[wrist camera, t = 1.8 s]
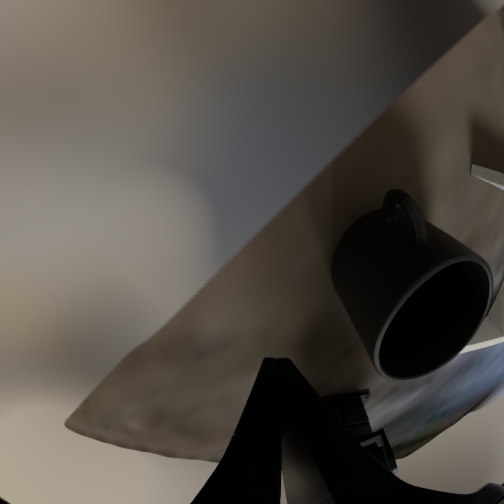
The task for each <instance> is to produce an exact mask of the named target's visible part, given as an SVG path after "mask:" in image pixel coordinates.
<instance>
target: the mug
mask: <svg viewBox="0 0 504 504" xmlns="http://www.w3.org/2000/svg"><path fill="white" fill-rule="evenodd" d="M396 203H398V204H399V205H400V206H401V207H402V208H398V207H395V206H396ZM332 279H333V284H334V287H335V290H336V292H337V294H338V296H339V298H340V299H341V301H342V303H343V305H344V307H345V309H346V311H347V313H348V315H349V317H350V319H351V321H352V323H353V325H354V327H355V329H356V331H357V333H358V335H359V337H360V339H361V341H362V343H363V345H364V347H365V349H366V351H367V353H368V355H369V357H370V359H371V361H372V364H373V366H374V368H375V369H376V371H377V372H378V373H379V374H380V375H381V376H382V377H383V378H385V379H387V380H390V381H394V382H406V381H412V380H416V379H419V378H422V377H424V376H427V375H429V374H431V373H433V372H435V371H436V370H438V369H440V368H441V367H443V366H444V365H446V364H447V363H448V362H450V361H451V360H452V359H453V358H454V357H456V356H457V355H458V354H459V353H460V352H461V351H462V350H463V349H464V348H465V347H466V345H467V344H468V343H469V342H470V341H471V339H472V338H473V337H474V335H475V334H476V332H477V331H478V329H479V328H480V326H481V324H482V322H483V321H484V318H485V316H486V314H487V312H488V309H489V306H490V303H491V299H492V294H493V276H492V272H491V269H490V267H489V265H488V263H487V262H486V261H485V260H484V259H483V258H482V257H481V256H479V255H478V254H477V253H475V252H474V251H472V250H471V249H470V248H468V247H467V246H465V245H464V244H462V243H461V242H459V241H458V240H456V239H455V238H453V237H452V236H450V235H448V234H447V233H445V232H444V231H442V230H441V229H439V228H437V227H436V226H434V225H433V224H431V223H429V222H428V221H426V220H424V219H423V217H422V215H421V212H420V210H419V208H418V207H417V205H416V203H415V202H414V201H413V199H412V198H411V197H410V196H409V195H408V194H407V193H406V192H404V191H403V190H400V189H392V190H389V191H388V192H387V193H386V194H385V198H384V201H383V208H382V209H378V210H375V211H372V212H370V213H368V214H366V215H365V216H363V217H362V218H360V219H359V220H358V221H356V222H355V223H354V224H353V225H352V226H351V227H350V228H349V230H348V231H347V232H346V233H345V235H344V236H343V238H342V239H341V241H340V243H339V245H338V247H337V249H336V253H335V256H334V260H333V266H332Z"/></svg>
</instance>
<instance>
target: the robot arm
mask: <svg viewBox="0 0 504 504" xmlns="http://www.w3.org/2000/svg"><path fill="white" fill-rule="evenodd" d="M370 396H371V395H370V393H369V392H366V393H358V394H350V395H340V396H328V397H324V398H321V397H320V396H319V395H318V393H317V392H316V391H315V390H314V389H313V387H312V386H311V385H310V384H309V382H308V381H307V380H306V379H305V377H304V376H303V375H302V374H301V372H300V371H299V370H298V369H297V367H296V366H295V365H294V364H293V362H292V361H291V360H290V359H289V358H277V359H276V358H271V357H265V358H264V359H263V361H262V364H261V367H260V369H259V372H258V374H257V377H256V380H255V382H254V385H253V387H252V390H251V392H250V395H249V397H248V400H247V402H246V405H245V407H244V410H243V412H242V415H241V417H240V420H239V422H238V424H237V427H236V429H235V431H234V435H233V436H232V438H231V440H230V443H229V445H228V447H227V449H226V451H225V453H224V455H223V457H222V459H221V460H220V462H219V464H218V466H217V467H216V469H215V470H214V472H213V473H212V475H211V476H210V477H209V479H208V480H207V482H206V483H205V485H204V486H203V487H202V489H201V490H200V492H199V493H198V494H197V496H196V497H195V498H194V500H193V501H192V502H191V503H190V504H280V498H281V471H282V475H283V480H284V486H285V492H286V498H287V504H504V483H503V484H501V485H498V484H494V483H487V484H486V485H484V486H482V487H481V488H479V489H478V490H476V491H474V492H473V493H471V494H455V493H448V492H441V491H436V490H431V489H426V488H421V487H417V486H413V485H411V484H408V483H406V482H404V481H403V480H401V479H400V478H398V477H397V476H395V475H394V473H396V472H398V469H397V465H396V461H395V458H394V455H393V452H392V449H391V447H390V444H389V442H388V439H387V437H386V435H385V432H384V430H383V428H381V429H379V430H378V431H376V432H372V429H371V426H370V423H369V419H368V416H367V413H366V410H365V407H364V405H365V404H366V402H367V401H368V399H369V398H370ZM381 445H382V446H381ZM379 446H380V447H379ZM0 504H10V503H9V502H7V501H6V500H4V499H3V498H1V497H0Z"/></svg>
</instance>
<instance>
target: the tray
mask: <svg viewBox="0 0 504 504" xmlns="http://www.w3.org/2000/svg"><path fill="white" fill-rule="evenodd" d="M471 175H473V176H475V177H477V178H480V179H482V180H484V181H486V182H488V183H490V184H492V185H495V186H497V187H499V188H501V189H503V190H504V174H503V173H500V172H497V171H494V170H491V169H488V168H484V167H481V166H477V165H474V164H472V168H471ZM501 342H504V281H503V283H502V285H501V288H500V290H499V292H498V295H497V297H496V299H495V301H494V303H493V305H492V307H491V309H490V311H489V314H488V315H487V317H485V318H484V321H483V322H482V324H481V326H480V328H479V329H478V331H477V332H476V334H475V335H474V337H473V338H472V339H471V341H470V342H469V343H468V344H467V345H466V347H465V348H464V349H463V350H462V351H461V352H460V353H464V352H468V351H472V350H476V349H480V348H484V347H487V346H491V345H494V344H497V343H501ZM460 353H459V354H460Z"/></svg>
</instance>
